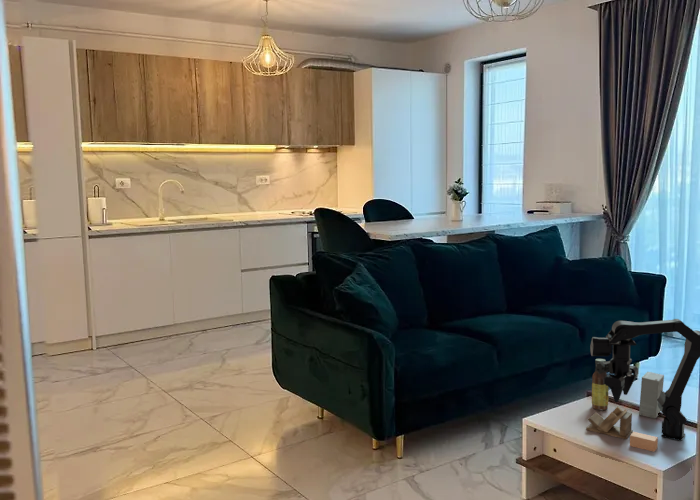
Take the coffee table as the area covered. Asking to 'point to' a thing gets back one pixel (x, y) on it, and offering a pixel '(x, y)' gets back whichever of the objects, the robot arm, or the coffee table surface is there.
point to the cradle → (612, 424)
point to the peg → (643, 441)
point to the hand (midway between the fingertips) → (620, 398)
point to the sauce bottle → (599, 389)
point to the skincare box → (650, 394)
